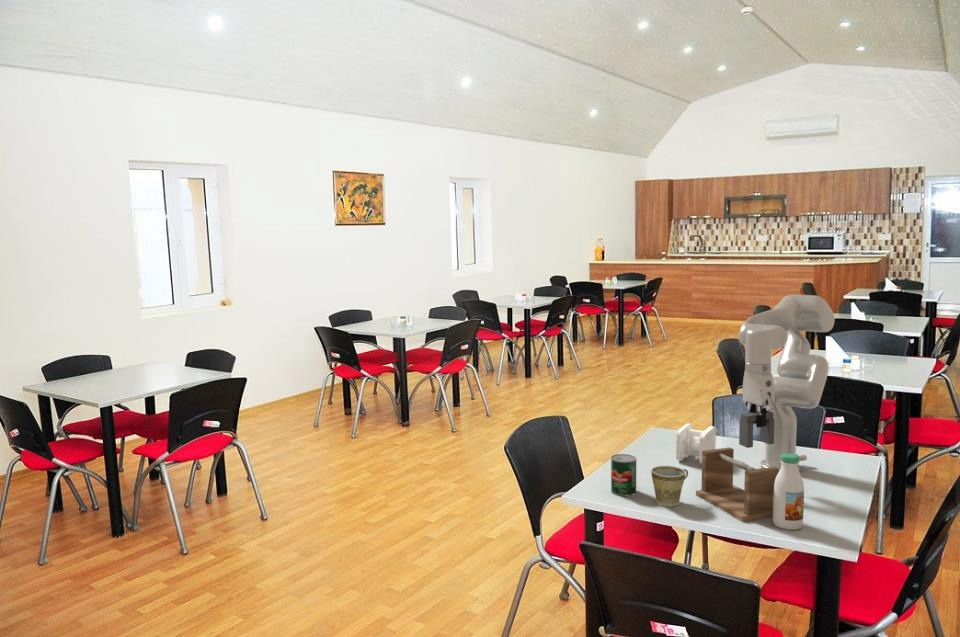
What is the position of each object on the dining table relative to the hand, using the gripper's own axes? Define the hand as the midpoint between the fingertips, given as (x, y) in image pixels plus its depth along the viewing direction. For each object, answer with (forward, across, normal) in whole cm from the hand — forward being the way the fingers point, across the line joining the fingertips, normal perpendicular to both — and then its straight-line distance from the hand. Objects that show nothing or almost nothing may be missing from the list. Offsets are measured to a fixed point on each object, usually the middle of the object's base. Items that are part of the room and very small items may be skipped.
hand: (757, 424), depth 228 cm
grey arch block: (+6, 0, 0) cm, 6 cm away
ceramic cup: (+20, -2, +32) cm, 38 cm away
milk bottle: (+20, -28, +12) cm, 36 cm away
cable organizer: (+21, +30, +1) cm, 37 cm away
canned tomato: (+20, +11, +41) cm, 47 cm away
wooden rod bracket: (+20, -11, +15) cm, 27 cm away
